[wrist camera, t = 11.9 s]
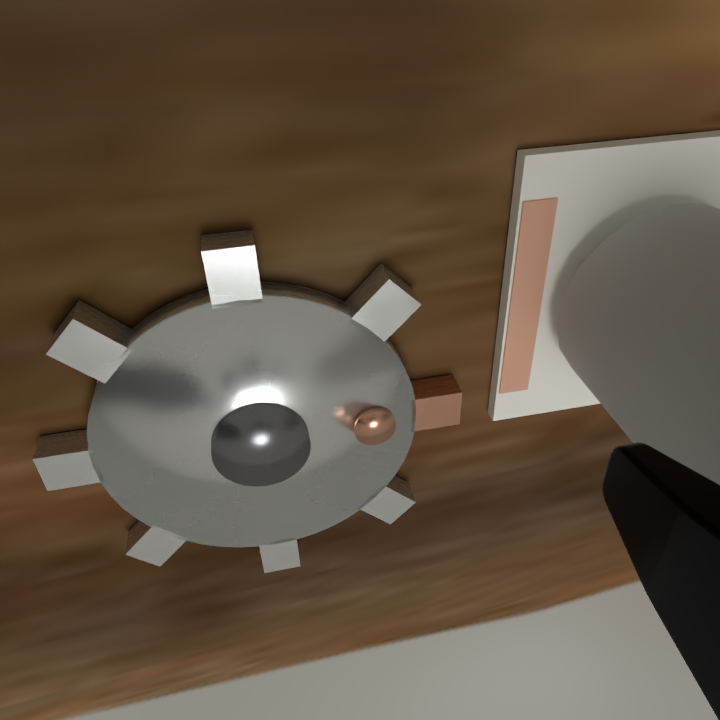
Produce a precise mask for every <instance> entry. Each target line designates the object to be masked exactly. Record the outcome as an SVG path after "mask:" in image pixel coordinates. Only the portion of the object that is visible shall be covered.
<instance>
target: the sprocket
mask: <svg viewBox="0 0 720 720" xmlns="http://www.w3.org/2000/svg"><path fill="white" fill-rule="evenodd" d="M201 253H202V259H203V264H204V269H205V274H206V279H207V284H208V289H204V290H201V291H198V292H195V293H191V294H188V295H186V296H184V297H182V298H179V299H177V300H175V301H173V302H170V303H168V304H166V305H165V306H163V307H161V308H160V309H158V310H156V311H155V312H153V313H151V314H150V315H148V316H147V317H146V318H144V319H143V320H142V321H141V322H139V323H138V324H137V325H136V326H134V327H133V328H132V329H131V328H129V327H128V326H126V325H124V324H122V323H120V322H119V321H117V320H115V319H113V318H111V317H110V316H108V315H106V314H104V313H102V312H101V311H99V310H97V309H95V308H93V307H92V306H90V305H88V304H86V303H84V302H83V301H81V300H79V301H78V302H77V303H76V305H75V306H74V307H73V309H72V310H71V311H70V313H69V314H68V315H67V317H66V318H65V319H64V321H63V322H62V323H61V325H60V326H59V327H58V329H57V330H56V331H55V333H54V334H53V337H52V339H51V342H50V345H49V347H48V350H47V353H46V355H48V356H50V357H52V358H54V359H56V360H58V361H60V362H62V363H64V364H66V365H68V366H70V367H72V368H74V369H76V370H78V371H80V372H82V373H84V374H87V375H89V376H91V377H93V378H95V379H97V383H96V386H95V390H94V394H93V398H92V402H91V406H90V410H89V415H88V423H87V429H85V430H78V431H72V432H65V433H58V434H52V435H45V436H40V438H39V441H38V444H37V447H36V450H35V454H34V457H33V461H34V463H35V465H36V467H37V469H38V472H39V474H40V476H41V478H42V480H43V482H44V484H45V486H46V489H47V491H50V490H57V489H63V488H69V487H75V486H81V485H87V484H94V483H100V482H101V483H102V485H103V486H104V487H105V489H106V490H107V492H108V493H109V494H110V496H111V497H112V498H113V499H114V500H115V501H116V502H117V503H118V504H119V505H120V506H121V507H122V508H123V509H125V510H126V511H127V512H128V513H130V514H131V515H132V516H134V517H135V518H136V519H138V522H137V523H136V524H135V525H134V526H133V527H132V528H131V529H130V530H129V531H128V538H127V546H126V554H125V555H128V556H131V557H134V558H137V559H140V560H143V561H146V562H149V563H151V564H154V565H157V566H161V565H162V564H163V563H164V562H165V561H166V560H167V559H168V558H169V557H170V556H171V555H172V554H173V553H174V552H175V551H176V550H177V549H178V548H179V547H180V546H181V545H182V544H183V543H184V542H185V541H190V542H195V543H199V544H204V545H212V546H221V547H255V546H259V547H260V552H261V557H262V563H263V568H264V573H267V572H272V571H278V570H283V569H288V568H293V567H299V566H300V560H299V553H298V546H297V539H300V538H303V537H306V536H309V535H312V534H315V533H317V532H320V531H322V530H324V529H327V528H329V527H331V526H333V525H335V524H337V523H339V522H341V521H343V520H345V519H347V518H348V517H350V516H351V515H353V514H354V513H356V512H357V511H359V510H362V511H365V512H367V513H369V514H371V515H373V516H375V517H377V518H379V519H381V520H383V521H385V522H387V523H389V524H391V523H392V522H394V521H395V520H396V519H397V518H398V517H399V516H401V515H402V514H403V513H404V512H405V511H406V510H408V509H409V508H410V507H411V506H412V505H413V504H414V503H416V502H415V499H414V496H413V493H412V491H411V488H410V485H409V482H407V481H405V480H403V479H402V478H400V477H398V476H396V473H397V471H398V470H399V468H400V467H401V465H402V463H403V462H404V460H405V458H406V455H407V453H408V451H409V448H410V446H411V443H412V439H413V435H414V431H420V430H426V429H432V428H438V427H444V426H450V425H456V424H460V413H461V400H462V391H461V390H460V388H459V386H458V384H457V382H456V380H455V378H454V377H453V375H452V374H451V375H444V376H437V377H431V378H424V379H417V380H411V381H410V379H409V377H408V374H407V372H406V370H405V367H404V365H403V363H402V361H401V358H400V356H399V354H398V352H397V350H396V348H395V347H394V345H393V344H392V342H391V340H390V339H389V337H390V336H391V335H392V334H393V333H394V332H395V331H396V330H397V329H398V328H399V327H400V326H401V325H402V324H403V323H404V322H405V321H406V320H407V319H408V318H409V317H410V316H411V315H412V314H413V313H414V312H415V311H416V310H417V309H418V308H419V307H420V306H421V305H422V304H421V303H420V301H419V299H418V297H417V296H416V294H415V292H414V290H413V288H412V287H410V286H409V285H408V284H407V283H405V282H404V281H403V280H402V279H400V278H399V277H398V276H397V275H395V274H394V273H393V272H391V271H390V270H389V269H388V268H386V267H385V266H384V265H383V264H381V263H380V264H379V266H378V267H377V268H376V269H375V270H374V271H373V272H372V273H371V274H370V275H369V276H368V277H367V278H366V279H365V280H364V281H363V283H362V284H361V285H360V286H359V287H358V288H357V289H356V290H355V291H354V292H353V293H352V294H351V295H350V296H349V297H348V298H347V300H346V301H344V300H341V299H339V298H337V297H335V296H332V295H330V294H328V293H325V292H322V291H319V290H315V289H312V288H309V287H305V286H300V285H294V284H288V283H281V282H262V281H260V277H259V270H258V263H257V256H256V249H255V242H254V235H253V230H244V231H235V232H226V233H217V234H208V235H201Z"/></svg>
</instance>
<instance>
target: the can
mask: <svg viewBox="0 0 720 720" xmlns="http://www.w3.org/2000/svg"><path fill="white" fill-rule="evenodd" d="M557 331H558V340H559V348H560V350H561V352H562V353H563V355H564V357H565V358H566V360H567V362H568V363H569V365H570V367H571V368H572V369H573V370H574V372H575V373H576V374H577V375H578V377H579V378H580V379H581V380H582V381H583V383H584V384H585V385H586V386H587V387H588V389H589V390H590V391H591V392H592V394H593V395H594V396H595V397H596V398H597V400H598V401H599V402H600V403H601V404H602V406H603V407H604V408H605V409H606V411H607V412H608V413H609V414H610V415H611V417H612V418H613V419H614V420H615V421H616V423H617V424H618V425H619V426H620V428H621V429H622V430H623V431H624V432H625V434H626V435H627V436H628V437H629V438H630V440H631V441H632V442H633V443H638V442H640V443H645V444H647V445H649V446H651V447H653V448H654V449H656V450H658V451H660V452H662V453H663V454H665V455H667V456H669V457H671V458H672V459H674V460H676V461H678V462H680V463H681V464H683V465H685V466H687V467H689V468H690V469H692V470H694V471H696V472H698V473H699V474H701V475H703V476H705V477H707V478H708V479H710V480H712V481H714V482H716V483H717V484H719V485H720V209H718V208H715V207H713V206H710V205H707V204H704V203H690V204H671V205H668V206H665V207H663V208H660V209H657V210H654V211H652V212H649V213H646V214H643V215H641V216H638V217H636V218H635V219H633V220H632V221H630V222H629V223H627V224H626V225H624V226H623V227H621V228H620V229H618V230H617V231H615V232H614V233H612V234H611V235H609V236H608V237H606V238H605V239H604V240H603V242H602V243H601V244H600V245H599V246H598V247H597V248H596V249H595V250H594V251H593V252H592V253H591V254H590V255H589V256H588V257H587V259H586V260H585V261H584V262H583V263H582V264H581V265H580V267H579V269H578V270H577V272H576V274H575V276H574V277H573V279H572V281H571V283H570V284H569V286H568V288H567V290H566V291H565V293H564V295H563V299H562V303H561V307H560V312H559V316H558V320H557Z"/></svg>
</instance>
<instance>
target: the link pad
mask: <svg viewBox="0 0 720 720" xmlns="http://www.w3.org/2000/svg"><path fill="white" fill-rule="evenodd" d="M690 203H704V204H707V205H710V206H713V207H715V208H718V209H720V130H717V131H707V132H696V133H686V134H676V135H666V136H656V137H645V138H635V139H625V140H615V141H605V142H595V143H584V144H574V145H564V146H554V147H544V148H533V149H523V150H518V151H517V159H516V168H515V177H514V186H513V194H512V203H511V212H510V221H509V230H508V238H507V247H506V256H505V265H504V273H503V282H502V291H501V300H500V308H499V317H498V326H497V335H496V344H495V352H494V361H493V370H492V379H491V387H490V396H489V405H488V413H489V415H490V417H491V418H492V420H493V421H496V420H502V419H508V418H514V417H520V416H526V415H533V414H539V413H545V412H551V411H557V410H563V409H569V408H576V407H582V406H588V405H594V404H600V402H599V401H598V400H597V398H596V397H595V396H594V395H593V394H592V392H591V391H590V390H589V389H588V387H587V386H586V385H585V384H584V383H583V381H582V380H581V379H580V378H579V377H578V375H577V374H576V373H575V372H574V370H573V369H572V368H571V367H570V365H569V363H568V362H567V360H566V358H565V357H564V355H563V353H562V352H561V350H560V348H559V340H558V331H557V320H558V316H559V312H560V307H561V303H562V299H563V295H564V293H565V291H566V290H567V288H568V286H569V284H570V283H571V281H572V279H573V277H574V276H575V274H576V272H577V270H578V269H579V267H580V265H581V264H582V263H583V262H584V261H585V260H586V259H587V257H588V256H589V255H590V254H591V253H592V252H593V251H594V250H595V249H596V248H597V247H598V246H599V245H600V244H601V243H602V242H603V240H604V239H605V238H606V237H608V236H609V235H611V234H612V233H614V232H615V231H617V230H618V229H620V228H621V227H623V226H624V225H626V224H627V223H629V222H630V221H632V220H633V219H635V218H636V217H638V216H641V215H643V214H646V213H649V212H652V211H654V210H657V209H660V208H663V207H665V206H668V205H671V204H690Z"/></svg>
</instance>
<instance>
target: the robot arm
mask: <svg viewBox="0 0 720 720" xmlns="http://www.w3.org/2000/svg"><path fill="white" fill-rule="evenodd" d="M603 496H604V499H605V502H606V504H607V506H608V509H609V511H610V513H611V515H612V518H613V520H614V522H615V524H616V527H617V529H618V531H619V533H620V536H621V538H622V540H623V542H624V545H625V547H626V549H627V552H628V554H629V556H630V558H631V561H632V563H633V565H634V567H635V570H636V572H637V574H638V576H639V578H640V581H641V583H642V585H643V587H644V589H645V591H646V593H647V595H648V597H649V599H650V600H651V602H652V604H653V606H654V608H655V610H656V611H657V613H658V615H659V617H660V618H661V620H662V622H663V624H664V625H665V627H666V629H667V630H668V632H669V634H670V636H671V637H672V639H673V641H674V642H675V644H676V646H677V648H678V650H679V651H680V653H681V655H682V657H683V658H684V660H685V662H686V664H687V665H688V667H689V669H690V670H691V672H692V674H693V676H694V677H695V679H696V681H697V683H698V685H699V686H700V688H701V690H702V692H703V693H704V695H705V697H706V698H707V700H708V702H709V704H710V706H711V707H712V709H713V711H714V713H715V714H716V716H717V718H718V720H720V485H719V484H717V483H716V482H714V481H712V480H710V479H708V478H707V477H705V476H703V475H701V474H699V473H698V472H696V471H694V470H692V469H690V468H689V467H687V466H685V465H683V464H681V463H680V462H678V461H676V460H674V459H672V458H671V457H669V456H667V455H665V454H663V453H662V452H660V451H658V450H656V449H654V448H653V447H651V446H649V445H647V444H645V443H640V442H638V443H631V444H625V445H619V446H617V447H615V448H614V449H613V451H612V453H611V456H610V459H609V463H608V467H607V470H606V474H605V477H604V481H603Z"/></svg>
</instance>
